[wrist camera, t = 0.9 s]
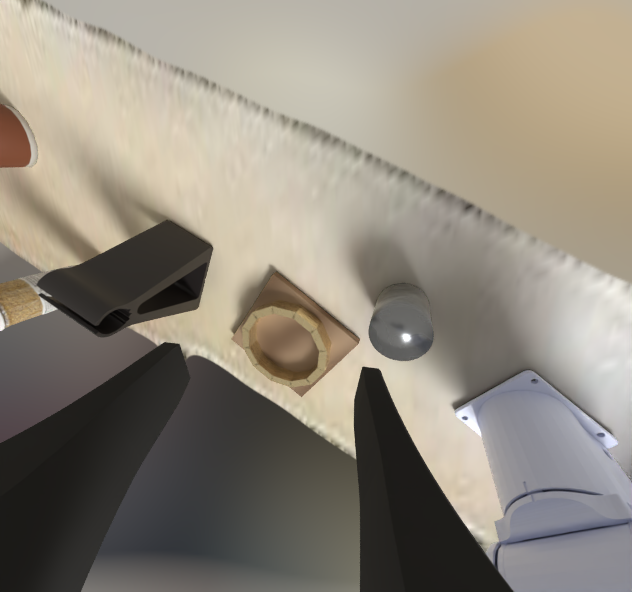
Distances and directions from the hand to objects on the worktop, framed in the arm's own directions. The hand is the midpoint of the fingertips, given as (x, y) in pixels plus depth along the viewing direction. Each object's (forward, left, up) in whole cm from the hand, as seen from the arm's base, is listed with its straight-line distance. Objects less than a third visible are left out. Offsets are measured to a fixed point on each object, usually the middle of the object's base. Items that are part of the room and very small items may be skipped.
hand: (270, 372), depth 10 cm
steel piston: (-6, 0, -15) cm, 17 cm away
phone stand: (+15, +13, -16) cm, 25 cm away
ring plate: (0, +11, -15) cm, 19 cm away
